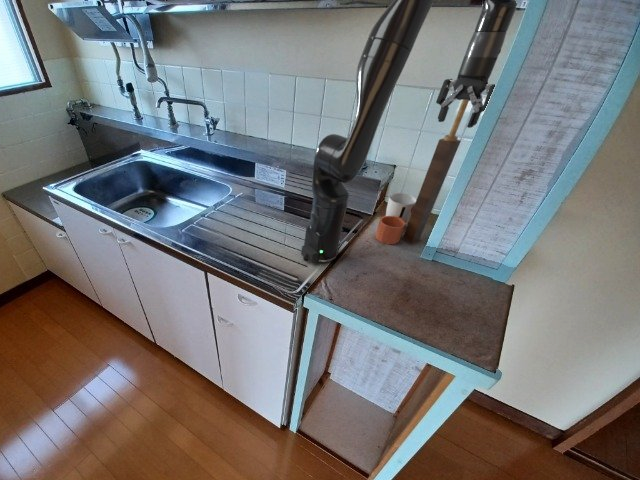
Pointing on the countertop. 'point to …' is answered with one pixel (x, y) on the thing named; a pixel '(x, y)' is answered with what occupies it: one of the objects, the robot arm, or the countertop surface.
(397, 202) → the cup
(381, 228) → the terracotta pot
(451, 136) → the stick
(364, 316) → the countertop surface
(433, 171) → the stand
